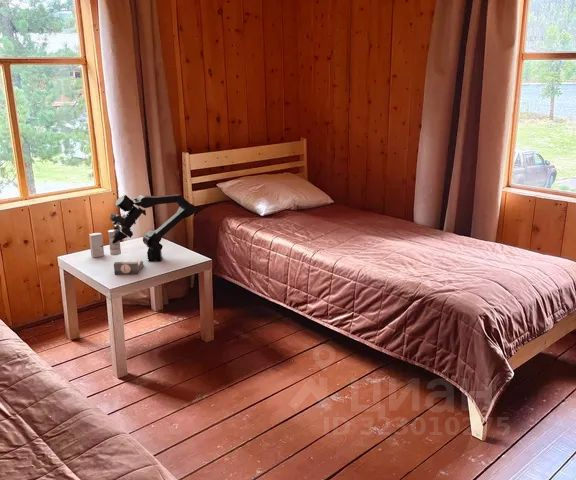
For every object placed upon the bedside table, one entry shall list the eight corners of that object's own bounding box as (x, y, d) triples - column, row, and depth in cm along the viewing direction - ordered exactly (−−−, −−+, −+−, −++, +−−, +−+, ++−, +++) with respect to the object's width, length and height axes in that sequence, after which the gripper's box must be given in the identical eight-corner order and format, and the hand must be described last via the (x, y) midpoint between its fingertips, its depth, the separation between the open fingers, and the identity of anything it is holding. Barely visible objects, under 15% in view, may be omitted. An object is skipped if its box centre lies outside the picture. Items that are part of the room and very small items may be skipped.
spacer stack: (121, 251, 281) (118, 229, 277) (120, 254, 276) (118, 231, 272) (110, 252, 279) (108, 229, 276) (110, 255, 275) (107, 232, 271)
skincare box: (93, 257, 293) (90, 235, 289) (90, 255, 297) (88, 233, 293) (104, 255, 296) (102, 234, 293) (102, 253, 300) (100, 232, 296)
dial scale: (143, 265, 282) (142, 254, 280) (137, 274, 269) (136, 263, 267) (121, 265, 281) (120, 255, 280) (114, 275, 268) (113, 264, 267)
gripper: (114, 203, 280) (94, 227, 278) (123, 211, 265) (102, 237, 263) (131, 216, 286) (112, 240, 284) (141, 224, 271) (121, 250, 269)
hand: (111, 241), depth 275 cm, fingers closed on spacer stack, 5 cm apart
